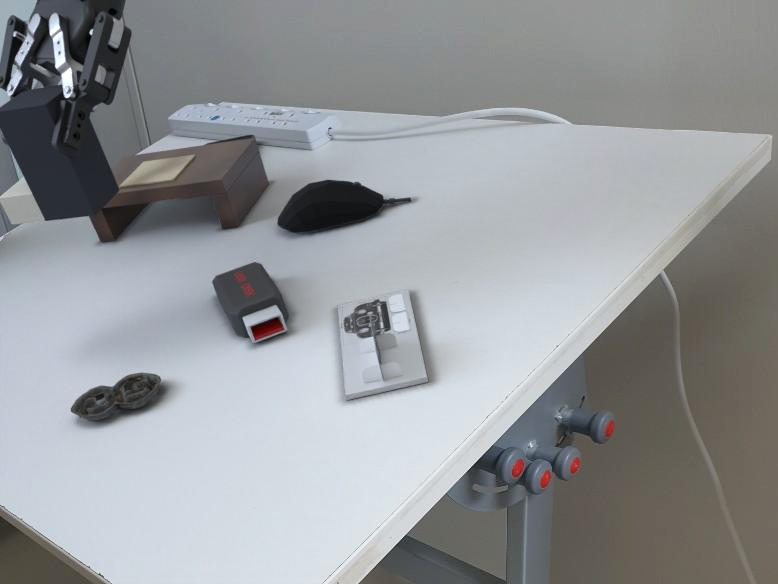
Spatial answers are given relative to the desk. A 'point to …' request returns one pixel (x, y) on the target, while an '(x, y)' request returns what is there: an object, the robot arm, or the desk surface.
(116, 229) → the brown coffee table
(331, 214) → the gaming mouse
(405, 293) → the car print tile
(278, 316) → the usb drive
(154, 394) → the corroded twin loop
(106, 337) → the desk surface
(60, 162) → the charcoal rectangular prism
